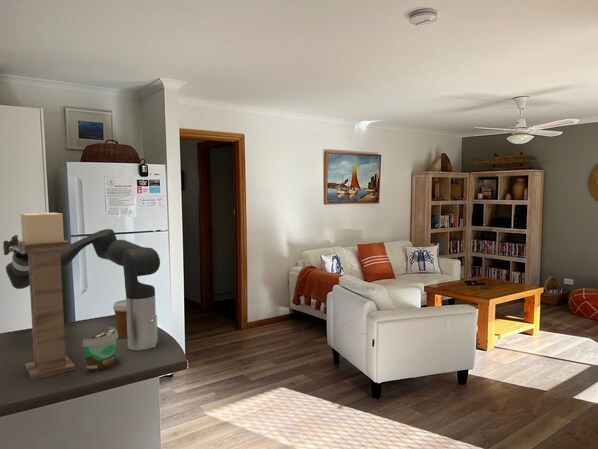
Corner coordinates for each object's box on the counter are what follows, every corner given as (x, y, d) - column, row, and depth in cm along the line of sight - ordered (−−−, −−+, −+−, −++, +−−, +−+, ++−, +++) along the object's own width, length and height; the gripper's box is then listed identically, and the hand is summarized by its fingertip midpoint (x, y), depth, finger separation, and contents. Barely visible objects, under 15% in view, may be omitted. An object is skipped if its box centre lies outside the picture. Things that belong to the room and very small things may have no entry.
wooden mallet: (63, 241, 128) (62, 213, 127) (28, 244, 122) (26, 214, 122) (47, 235, 145) (46, 210, 144) (15, 237, 139) (13, 211, 138)
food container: (102, 374, 127) (101, 340, 126) (83, 373, 128) (82, 339, 127) (127, 358, 139) (126, 327, 138) (110, 356, 140) (108, 326, 139)
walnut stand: (75, 369, 130) (69, 241, 127) (33, 380, 123) (25, 245, 120) (65, 357, 140) (59, 238, 136) (25, 367, 132) (17, 241, 129)
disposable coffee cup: (116, 341, 154) (114, 307, 153) (112, 333, 163) (111, 301, 162) (144, 336, 159) (143, 303, 158) (139, 329, 167) (138, 298, 166)
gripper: (-1, 248, 149) (4, 227, 138) (47, 245, 158) (55, 224, 147) (2, 269, 147) (7, 249, 135) (50, 264, 156) (58, 245, 144)
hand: (32, 236), depth 141 cm, fingers open, 8 cm apart
